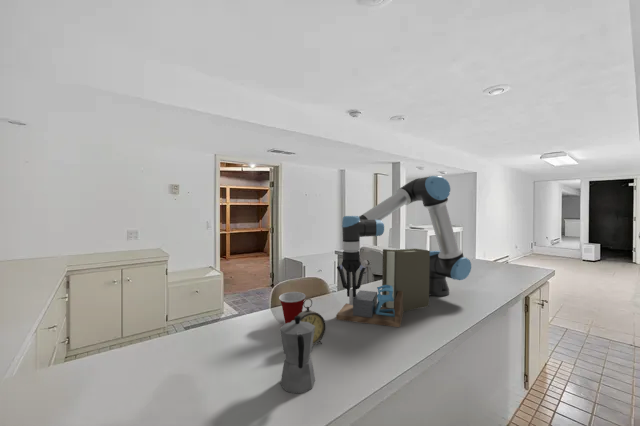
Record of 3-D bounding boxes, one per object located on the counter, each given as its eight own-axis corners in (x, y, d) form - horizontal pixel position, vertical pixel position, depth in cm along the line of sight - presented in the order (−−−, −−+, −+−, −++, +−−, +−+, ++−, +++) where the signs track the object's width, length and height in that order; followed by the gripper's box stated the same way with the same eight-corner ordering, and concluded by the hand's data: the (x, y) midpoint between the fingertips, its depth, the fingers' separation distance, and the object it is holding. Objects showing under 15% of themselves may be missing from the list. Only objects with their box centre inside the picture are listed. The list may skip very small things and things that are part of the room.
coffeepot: (279, 372, 85) (278, 309, 85) (311, 368, 87) (311, 307, 86) (282, 407, 70) (281, 330, 70) (321, 402, 71) (320, 327, 71)
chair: (374, 310, 131) (374, 282, 130) (394, 310, 129) (393, 283, 129) (375, 316, 123) (375, 287, 123) (396, 317, 122) (396, 288, 122)
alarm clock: (296, 353, 96) (296, 303, 96) (290, 346, 101) (290, 298, 101) (326, 345, 101) (326, 298, 101) (319, 339, 106) (318, 294, 106)
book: (415, 302, 150) (416, 247, 150) (430, 308, 142) (430, 249, 142) (381, 308, 140) (382, 249, 140) (395, 314, 132) (396, 251, 132)
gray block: (377, 307, 134) (377, 291, 134) (372, 318, 121) (372, 300, 121) (359, 305, 137) (359, 290, 137) (352, 315, 124) (353, 299, 124)
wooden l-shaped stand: (403, 313, 132) (402, 291, 131) (400, 327, 116) (399, 301, 116) (346, 307, 140) (345, 286, 140) (336, 319, 125) (336, 295, 125)
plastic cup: (273, 328, 116) (273, 297, 116) (287, 318, 126) (286, 290, 126) (298, 332, 112) (298, 300, 112) (310, 322, 122) (310, 293, 122)
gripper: (367, 250, 132) (368, 302, 133) (339, 249, 137) (339, 300, 137) (364, 252, 125) (364, 308, 125) (334, 251, 130) (335, 305, 130)
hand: (351, 304), depth 131 cm, fingers closed
